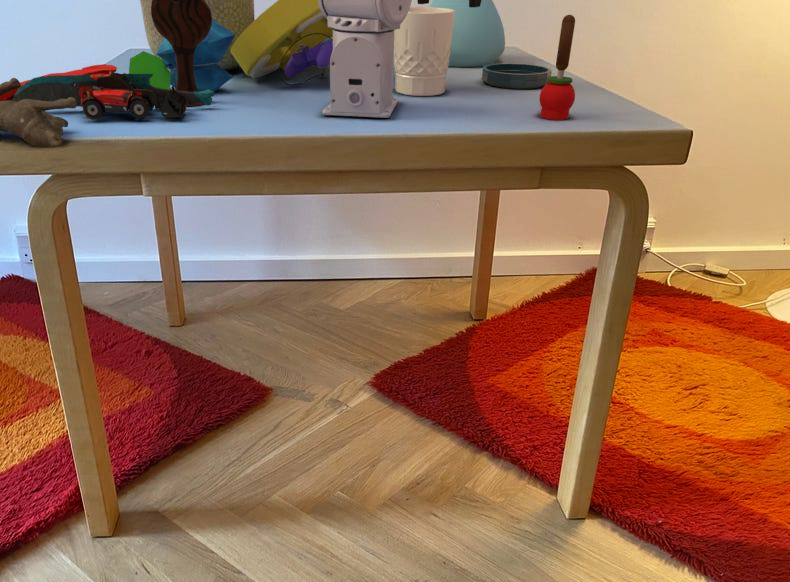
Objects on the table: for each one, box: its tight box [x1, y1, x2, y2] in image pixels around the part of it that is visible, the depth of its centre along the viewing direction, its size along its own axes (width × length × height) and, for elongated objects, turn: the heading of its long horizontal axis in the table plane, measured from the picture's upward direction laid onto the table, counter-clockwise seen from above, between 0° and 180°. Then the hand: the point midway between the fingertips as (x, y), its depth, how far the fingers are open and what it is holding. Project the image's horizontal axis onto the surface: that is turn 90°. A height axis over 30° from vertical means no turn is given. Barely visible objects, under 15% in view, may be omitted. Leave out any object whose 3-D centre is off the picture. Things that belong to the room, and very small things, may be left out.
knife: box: [12, 74, 215, 107], centre depth 83 cm, size 24×1×5 cm, turn 97°
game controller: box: [279, 33, 333, 87], centre depth 97 cm, size 10×8×10 cm
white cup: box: [393, 6, 455, 97], centre depth 93 cm, size 8×8×10 cm
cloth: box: [0, 63, 118, 102], centre depth 92 cm, size 26×14×2 cm, turn 175°
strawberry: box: [539, 14, 576, 121], centre depth 80 cm, size 4×4×11 cm
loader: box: [73, 72, 187, 121], centre depth 80 cm, size 12×5×5 cm, turn 94°
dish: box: [481, 62, 553, 90], centre depth 101 cm, size 10×10×2 cm
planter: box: [139, 0, 256, 72], centre depth 105 cm, size 17×17×15 cm
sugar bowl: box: [428, 0, 506, 68], centre depth 115 cm, size 15×15×12 cm
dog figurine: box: [0, 77, 78, 148], centre depth 72 cm, size 12×6×7 cm
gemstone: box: [128, 50, 171, 89], centre depth 92 cm, size 6×6×6 cm
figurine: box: [151, 0, 212, 108], centre depth 84 cm, size 7×5×18 cm
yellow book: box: [231, 0, 334, 79], centre depth 100 cm, size 16×21×5 cm
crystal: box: [156, 20, 236, 92], centre depth 93 cm, size 7×9×12 cm
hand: (448, 5), depth 94 cm, fingers open, 7 cm apart
